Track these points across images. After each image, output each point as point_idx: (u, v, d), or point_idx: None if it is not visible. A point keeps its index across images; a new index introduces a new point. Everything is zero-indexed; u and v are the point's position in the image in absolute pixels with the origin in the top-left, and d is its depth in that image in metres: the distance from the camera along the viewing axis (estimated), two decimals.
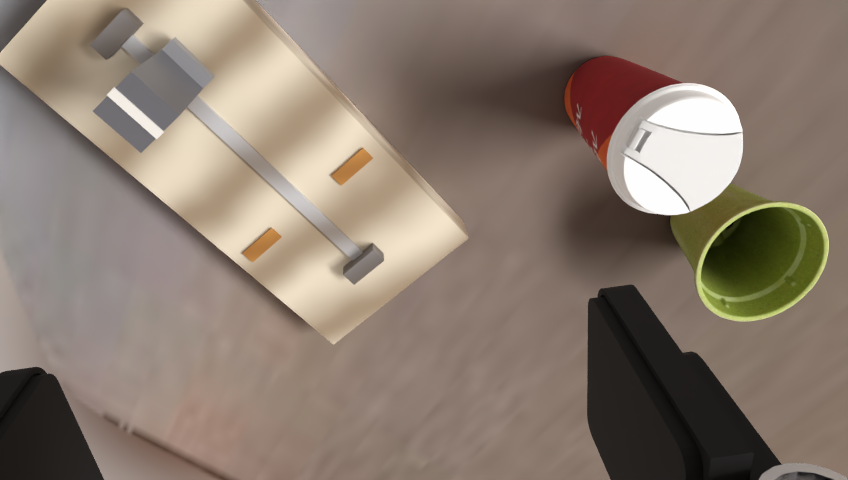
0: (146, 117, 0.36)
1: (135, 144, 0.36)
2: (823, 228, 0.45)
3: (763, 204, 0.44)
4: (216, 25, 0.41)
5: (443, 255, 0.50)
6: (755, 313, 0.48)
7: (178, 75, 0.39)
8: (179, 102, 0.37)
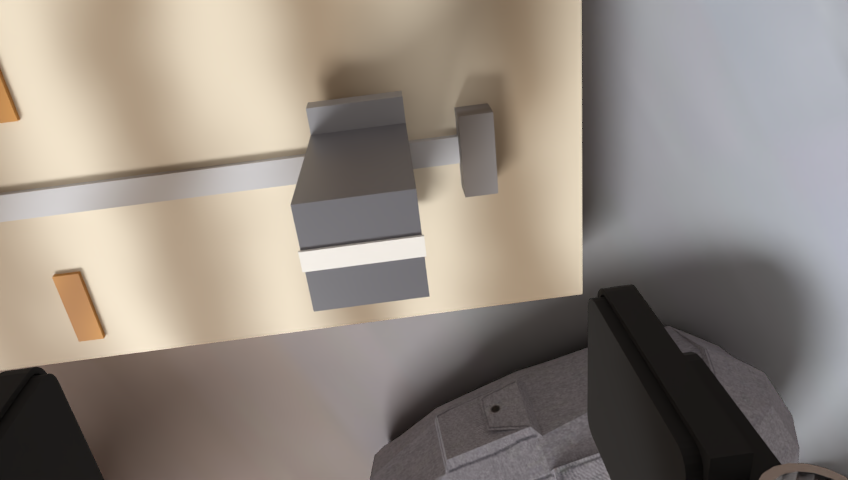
0: (345, 266, 0.17)
1: (312, 208, 0.17)
2: None
3: None
4: None
5: None
6: None
7: None
8: None
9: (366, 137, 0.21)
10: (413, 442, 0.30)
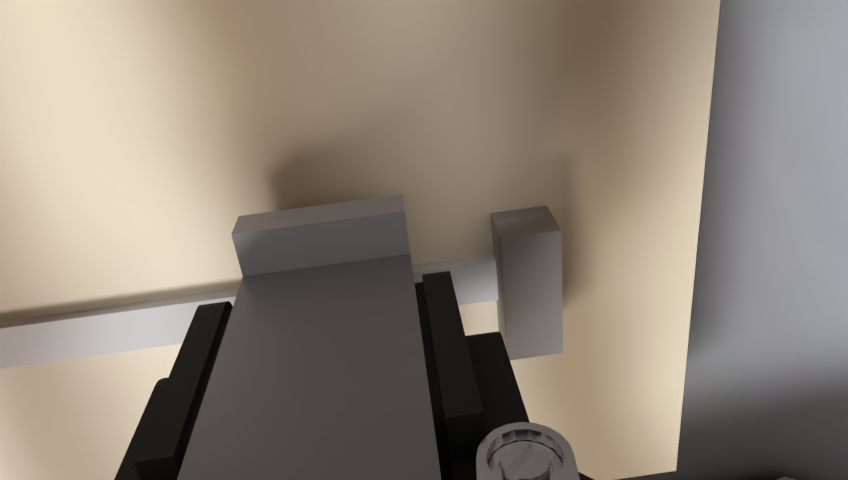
0: None
1: None
2: None
3: None
4: None
5: None
6: None
7: None
8: None
9: (339, 293, 0.11)
10: None
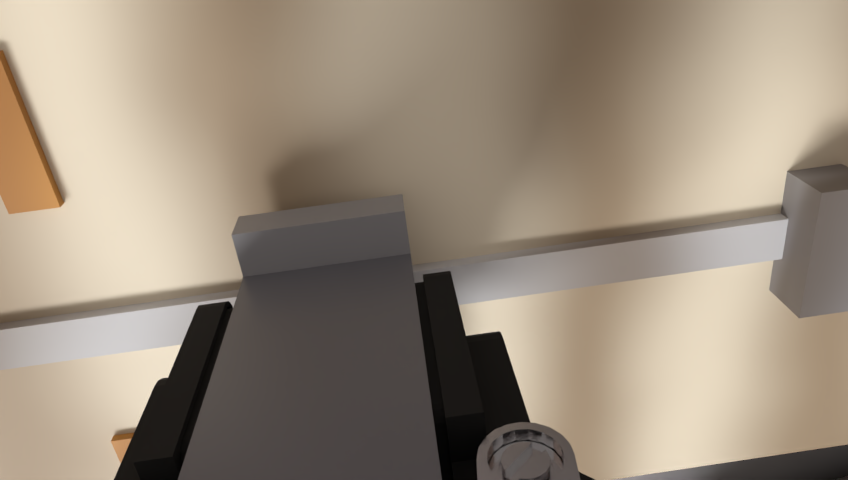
0: None
1: None
2: None
3: None
4: (639, 410, 0.17)
5: None
6: None
7: None
8: None
9: (339, 293, 0.11)
10: None
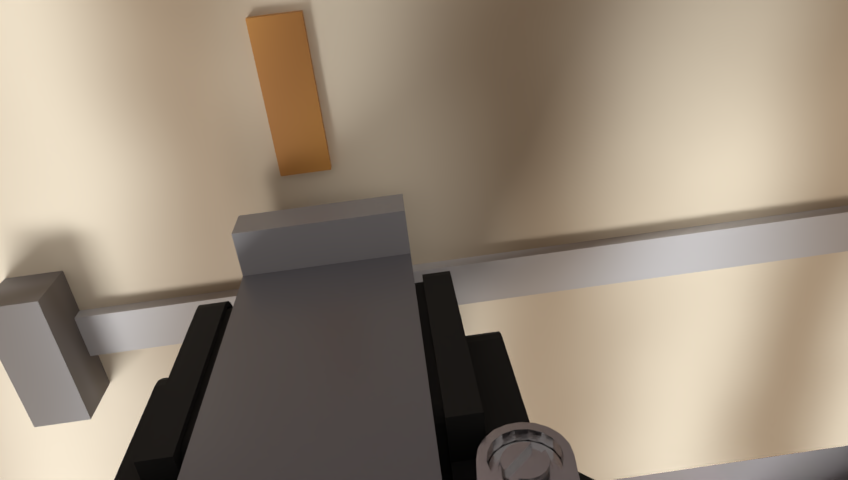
0: None
1: None
2: None
3: None
4: (842, 382, 0.17)
5: None
6: None
7: None
8: None
9: (339, 293, 0.11)
10: None
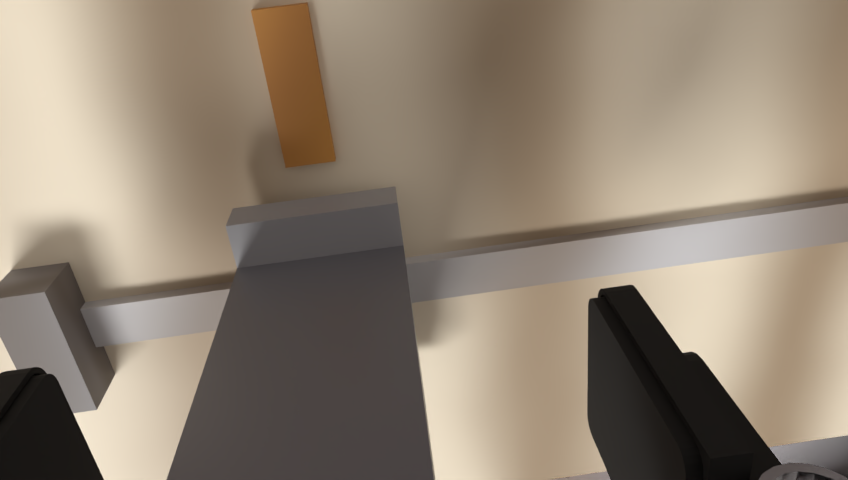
0: None
1: None
2: None
3: None
4: (839, 372, 0.17)
5: None
6: None
7: None
8: None
9: (333, 284, 0.12)
10: None
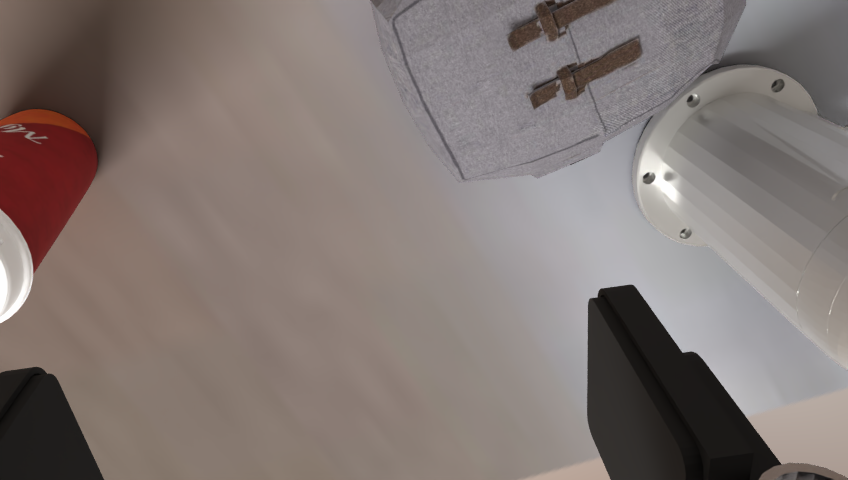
0: None
1: None
2: None
3: None
4: None
5: None
6: None
7: None
8: None
9: None
10: None
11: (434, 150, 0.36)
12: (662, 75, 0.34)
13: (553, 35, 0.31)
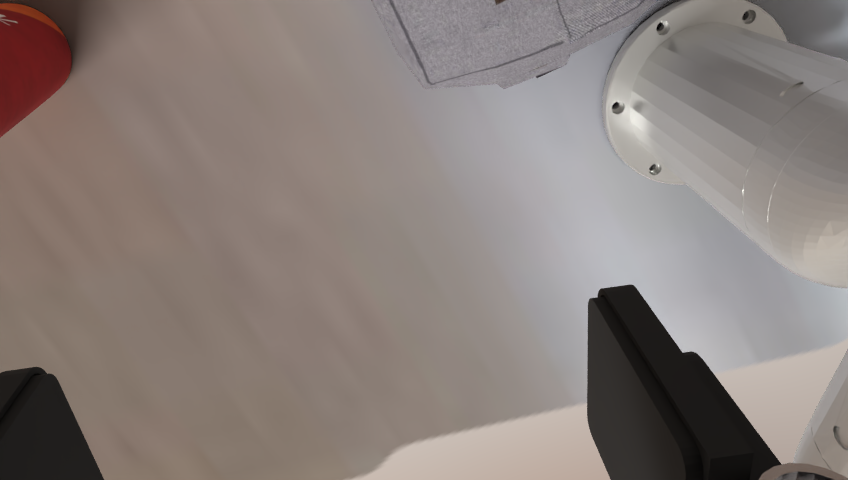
0: None
1: None
2: None
3: None
4: None
5: None
6: None
7: None
8: None
9: None
10: None
11: (400, 51, 0.37)
12: None
13: None
